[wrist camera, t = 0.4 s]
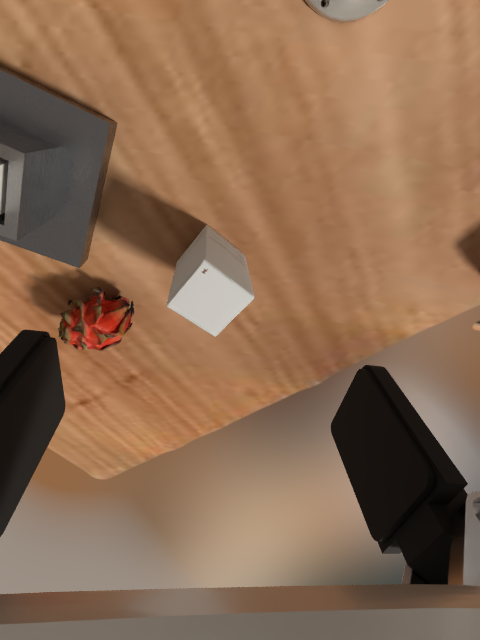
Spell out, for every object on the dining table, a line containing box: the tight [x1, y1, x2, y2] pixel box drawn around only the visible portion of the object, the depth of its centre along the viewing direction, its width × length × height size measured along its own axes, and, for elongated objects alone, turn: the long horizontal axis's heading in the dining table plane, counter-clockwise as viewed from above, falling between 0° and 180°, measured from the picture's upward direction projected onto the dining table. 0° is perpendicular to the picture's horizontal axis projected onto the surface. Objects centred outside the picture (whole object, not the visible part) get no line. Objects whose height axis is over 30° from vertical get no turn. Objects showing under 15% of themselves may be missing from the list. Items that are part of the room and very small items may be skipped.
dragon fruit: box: [58, 287, 134, 351], centre depth 46 cm, size 8×8×12 cm
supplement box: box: [167, 225, 255, 337], centre depth 40 cm, size 7×7×13 cm
